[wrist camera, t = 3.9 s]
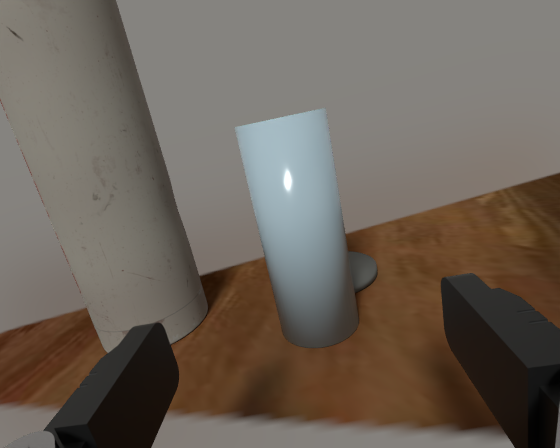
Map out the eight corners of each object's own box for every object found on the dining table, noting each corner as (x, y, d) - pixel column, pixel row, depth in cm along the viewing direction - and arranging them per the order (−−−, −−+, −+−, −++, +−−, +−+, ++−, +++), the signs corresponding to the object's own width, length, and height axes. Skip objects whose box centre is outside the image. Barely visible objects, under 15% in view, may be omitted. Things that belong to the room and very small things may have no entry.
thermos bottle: (81, 366, 24) (-150, -150, 16) (130, 305, 31) (-9, -62, 23) (195, 345, 23) (18, -198, 15) (216, 289, 31) (106, -92, 23)
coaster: (368, 252, 31) (367, 246, 31) (387, 289, 25) (386, 281, 25) (291, 265, 32) (290, 259, 32) (290, 304, 26) (288, 297, 25)
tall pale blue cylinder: (352, 297, 25) (322, 108, 21) (365, 341, 20) (329, 107, 16) (283, 308, 25) (242, 125, 22) (280, 353, 21) (226, 129, 17)
